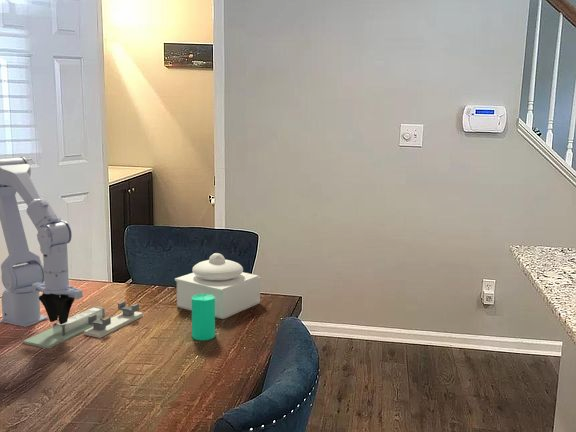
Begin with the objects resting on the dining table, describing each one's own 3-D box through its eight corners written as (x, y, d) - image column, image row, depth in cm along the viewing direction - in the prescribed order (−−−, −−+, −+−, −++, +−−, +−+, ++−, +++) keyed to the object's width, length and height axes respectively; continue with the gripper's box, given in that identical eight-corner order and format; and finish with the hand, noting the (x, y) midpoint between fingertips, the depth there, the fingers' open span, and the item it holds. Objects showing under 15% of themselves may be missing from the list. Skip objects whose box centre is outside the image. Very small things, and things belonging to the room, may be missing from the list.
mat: (22, 343, 156) (22, 340, 156) (68, 322, 170) (68, 320, 170) (48, 348, 153) (48, 346, 153) (92, 327, 167) (92, 325, 167)
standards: (83, 334, 162) (83, 319, 161) (127, 313, 178) (127, 299, 178) (100, 338, 160) (99, 322, 159) (143, 316, 176) (142, 301, 176)
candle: (210, 341, 160) (210, 295, 158) (188, 339, 161) (188, 293, 159) (218, 332, 166) (218, 288, 163) (196, 330, 167) (196, 286, 164)
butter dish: (259, 303, 190) (260, 252, 187) (221, 320, 175) (222, 264, 172) (214, 292, 200) (214, 243, 197) (175, 307, 185) (174, 254, 182)
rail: (53, 334, 160) (52, 324, 160) (95, 314, 175) (95, 305, 174) (62, 336, 159) (62, 326, 159) (104, 316, 174) (104, 307, 173)
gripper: (21, 270, 157) (24, 322, 160) (67, 277, 152) (69, 331, 154) (42, 263, 164) (45, 313, 166) (87, 270, 158) (89, 322, 161)
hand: (58, 321), depth 161 cm, fingers open, 3 cm apart
